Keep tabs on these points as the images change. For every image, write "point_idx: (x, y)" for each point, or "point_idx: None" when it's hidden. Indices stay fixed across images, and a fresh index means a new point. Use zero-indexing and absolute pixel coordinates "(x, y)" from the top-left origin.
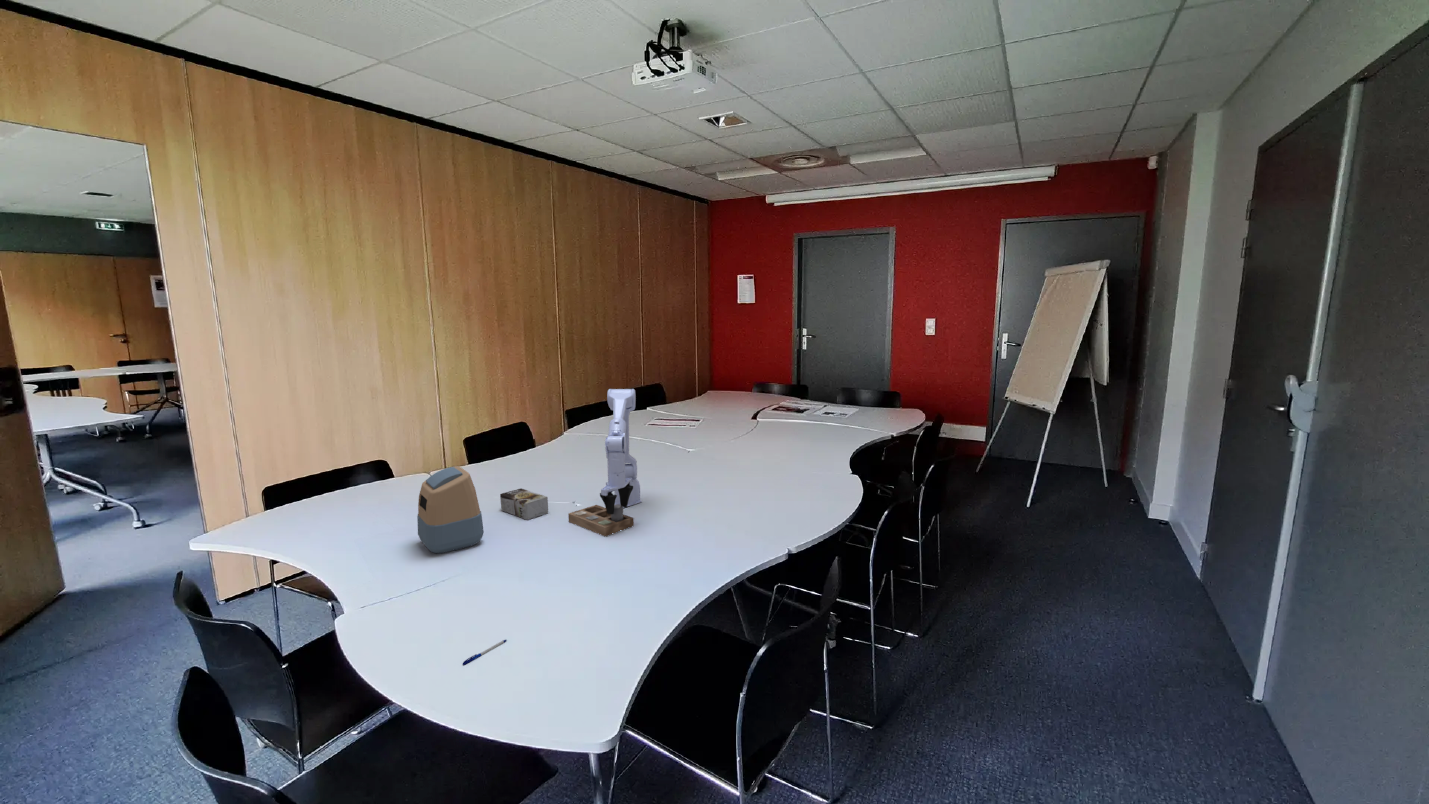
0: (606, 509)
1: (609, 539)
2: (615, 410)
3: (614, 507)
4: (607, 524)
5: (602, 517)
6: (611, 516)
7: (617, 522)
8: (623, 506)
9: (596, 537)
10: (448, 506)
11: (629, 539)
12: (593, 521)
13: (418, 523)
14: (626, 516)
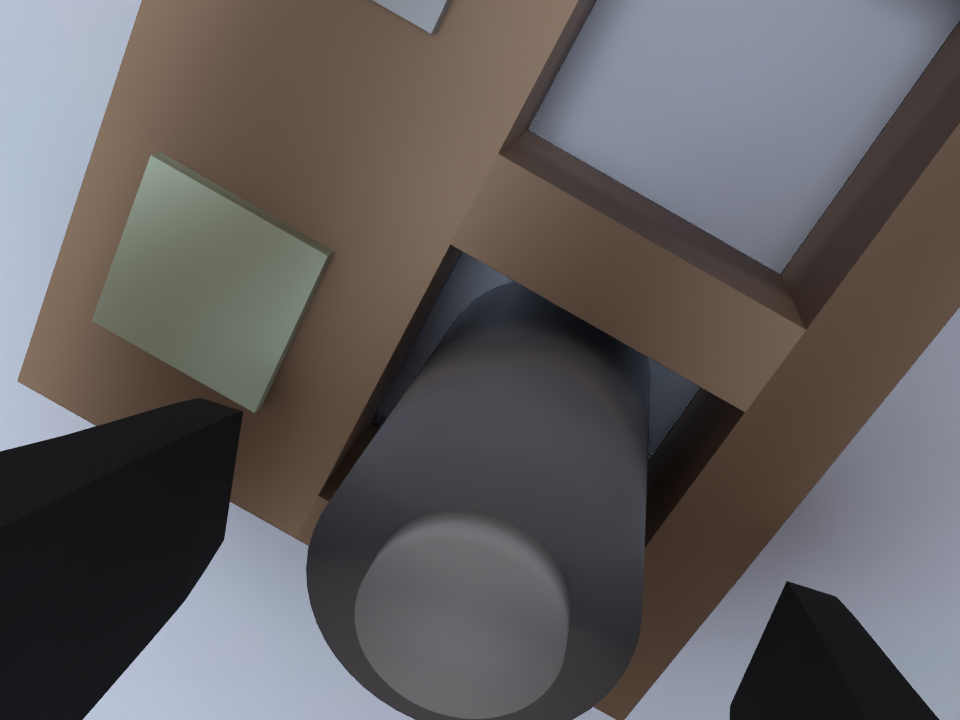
0: (120, 427)
1: (56, 415)
2: None
3: (364, 573)
4: (168, 367)
5: (505, 108)
6: (418, 382)
7: (318, 513)
8: (755, 654)
9: (42, 196)
10: None
11: (156, 660)
12: (214, 2)
13: None
14: (669, 593)
